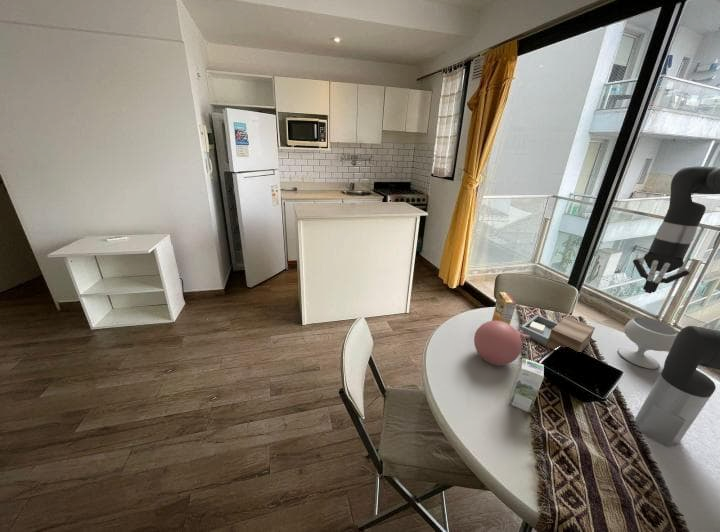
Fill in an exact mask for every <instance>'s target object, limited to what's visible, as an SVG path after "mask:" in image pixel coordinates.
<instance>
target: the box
mask: <svg viewBox="0 0 720 532" xmlns="http://www.w3.org/2000/svg"><path fill="white" fill-rule="evenodd" d="M532 321H533V322H536V323H539V324H542V325H544V326H545V329H544V331H543V333H542V334H540V333H538V332H535V331H533V330H531V329H529V326H530V324H531V323H532ZM558 323H559V322H557V321H554V320H552V319H549V318H547V317H545V316H542V315H540V314H535V316H533V317H531V318H530V319H529V320H528V321H526V322H525V323H524V324H522V325H521V326H520V329H519V330H522V331H523V333H524V334H525V335H529V336H530V338H529V339H530V340H533V341H534V342H537V343H539V344H541V345H543V346H545V347H547V346H546V344H547V341H548V339H549V336H550V333H551V330H552V329H553V328H554V327H555V326H556V325H557V324H558Z"/></svg>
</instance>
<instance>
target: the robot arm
mask: <svg viewBox="0 0 720 532" xmlns="http://www.w3.org/2000/svg"><path fill="white" fill-rule="evenodd" d="M693 194H696V195H697V194H698V195H720V166H702V165H701V166H700V165H687V166H684V167H682V168H680V169H679V170H678V171H677V172H676V173H675V174H674V175H673V177H672V179H671V182H670V195H669V205H668V206H669V207H668V210H667V212H666V214H665V217H664V218H663V221H662V223H661V224H660V226H659V228H658V229H657V232H656V234H655V236H654V238H653V240H652V243H651V245H650V248H649V250H648V251H647V253H645V254H644V255H643V256H641V257H637V258H634V259H632V263H633V265H634V266H635V268H636V270H637V273H638V274H639V276H640V277H641V278H643V279H644V280H646V281H645V283H644V285H643V287H642V290H644V292H645V293H648V294H652V293H655V292H656V291H657V289H658V288H659V285H660V284H669V283H671V282H674V281H677V280H679V279H681V278H684V277H687V276H689V275H690V273H691V270H690V269H687V268H686V267H685V265H684V264H685V262H684V259H685V257H686V255H687V253H688V250H689V248H690V246H691V245H692V242H693V241H694V240H695V236H696V234H697V229H698V226H699V224H701V221H702V218H703V217H704V215H705V213H706V209H707V208H706V206H705V205H704V204H702V203H698V202H695V201H693V198H692V195H693ZM644 263H645V264H646V266H647V268H648V269H649V272H648V273H647V271H646V269H645V267H644V266H643V265H644ZM677 269H678V270H677ZM675 270H677V271H676V273H675V274H672V275H670V276H667V277H665V274H669V273H671V272H673V271H675ZM657 272H658V274H657V276H656V273H657ZM655 276H656V277H655ZM668 351H669V352H668V354H667V356H666V358H665V361H664V364H663V368H662V371H661V373H660V374H659V376H658V377H657V379H656V381H655V382H654V384H653V386H652V388H651V390H650V392H649V393H648V395H647V396H646V399H645V400H644V401H643V404H642V405H641V407H640V410H639V411H638V412H637V415H636V416H635V418H634V422H635V424H636V426H637V427H638V431H639V432H640V433H642V434H644V435H645V436H647V437H649V438H651V439H653V440H654V441H656V442H658V443H659V444H662V446H663V445H664V446H665V447H667V448H670V447H671V446H677V445H679V444H680V442H681V441H682V439H683V438H684V436H685V435H686V434H687V432H688V430H689V429H690V428H691V426H692V425H693V423H694V422H695V420H696V419H697V417H698V416H699V414H700V413H701V412H702V410H703V408H704V407H705V405H706V404H707V403H708V401H709V400H710V398H711V396H712V395H713V394H714V393H715V390H716V384H715V382H714V381H713V380H712V379H711V378H710V377H709V376H707V375H706V374H705V373H703V372H701V371H699V370H698V369H697V368H698V366H701V367H706V368H710V369H713V370H718V371H720V330H716V329H712V328H707V327H701V326H697V325H687V326H685V327H683V328H682V329H681V330H679V332H678V333H677V336H676V338H675V340H674V342H673V345H672V347H671V349H670V350H668Z"/></svg>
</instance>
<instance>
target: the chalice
mask: <svg viewBox="0 0 720 532" xmlns="http://www.w3.org/2000/svg"><path fill="white" fill-rule="evenodd" d="M623 331H624V335H625V336H626V337H627V338H628V339H629V340H630V341H631V342H633V343H634V344H635V345H636V346H637V348H638V349H636V348H632V347H626V346H625V347H624V346H622V347H619V348H617V353H618V355H619V356H620V357H622V358H623V359H624V360H626V361H627V362H629V363H631V364H633V365H636V366H638V367H641V368H645V369H649V370H655V369H656V370H657V369H659V368H660V367H661V366H660V363H659V361H658V360H657V359H655V357H653V356H652V355H650V354H649V353H647V351H655V352H667V351H670V349H671V347H672V345H673V342H674V340H675V338H676V336H677V335H678V333H677V330H676V329H675V328H674V327H672V326H671V325H669V324H667V323H665V322H662V321H660V320H657V319H654V318H650V317H646V316H645V317H644V316H635V317H633V318H631V319H630V320H629V321H627V323H626V324H625V326H624V329H623Z"/></svg>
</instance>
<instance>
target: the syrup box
mask: <svg viewBox="0 0 720 532" xmlns="http://www.w3.org/2000/svg"><path fill="white" fill-rule="evenodd" d="M544 365H545V364H542V363H539V362H537V361H533V360H530V359H527V358H524V357H522V359H521V361H520V364H519V367H518V369H517V373H516V376H515V379H514V382H513V385H512V387H511V391H510V395H509V396H510V397H509V398H510V399H509V405H510V406H511V407H514V408H517V409H519V410H521V411H523V412H526V413H528V414H529V413H530V414H531V411H532V409H533V407H534V403H535V401H536V398H537V396H538V394H539V391H540V389H541V386H542V383H543V380H544V378H545V375H544V373H545V372H544V371H545V370H544V369H545V368H544V367H545V366H544Z"/></svg>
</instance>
